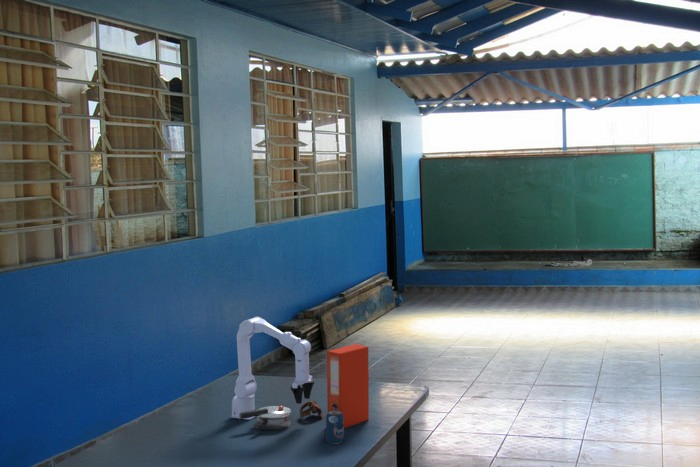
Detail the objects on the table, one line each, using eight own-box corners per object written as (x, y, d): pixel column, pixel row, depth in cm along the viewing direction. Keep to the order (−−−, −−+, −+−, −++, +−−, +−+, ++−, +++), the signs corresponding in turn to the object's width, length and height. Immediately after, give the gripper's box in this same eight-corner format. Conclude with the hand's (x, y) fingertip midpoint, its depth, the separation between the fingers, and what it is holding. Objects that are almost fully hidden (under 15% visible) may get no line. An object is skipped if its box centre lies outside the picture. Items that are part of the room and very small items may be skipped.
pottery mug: (323, 422, 359) (314, 407, 357) (304, 430, 361) (295, 416, 359) (326, 407, 371) (317, 392, 369) (308, 415, 373) (298, 401, 371)
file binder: (369, 419, 360) (368, 346, 358) (341, 429, 348) (340, 353, 345) (355, 416, 366) (354, 343, 363) (327, 425, 353) (326, 350, 350)
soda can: (337, 445, 328) (337, 415, 327) (323, 442, 332) (322, 413, 331) (347, 440, 334) (346, 411, 333) (332, 437, 338) (332, 408, 337)
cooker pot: (271, 416, 366) (270, 405, 366) (299, 420, 361) (299, 409, 360) (241, 433, 344) (241, 421, 344) (271, 437, 338) (270, 425, 338)
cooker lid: (281, 406, 364) (281, 400, 364) (297, 414, 352) (296, 409, 351) (233, 414, 353) (233, 409, 353) (247, 424, 340) (247, 418, 340)
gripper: (302, 374, 345) (303, 406, 346) (318, 366, 358) (319, 397, 360) (287, 372, 348) (288, 404, 349) (303, 364, 361) (304, 395, 362)
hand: (302, 400), depth 355 cm, fingers open, 7 cm apart
